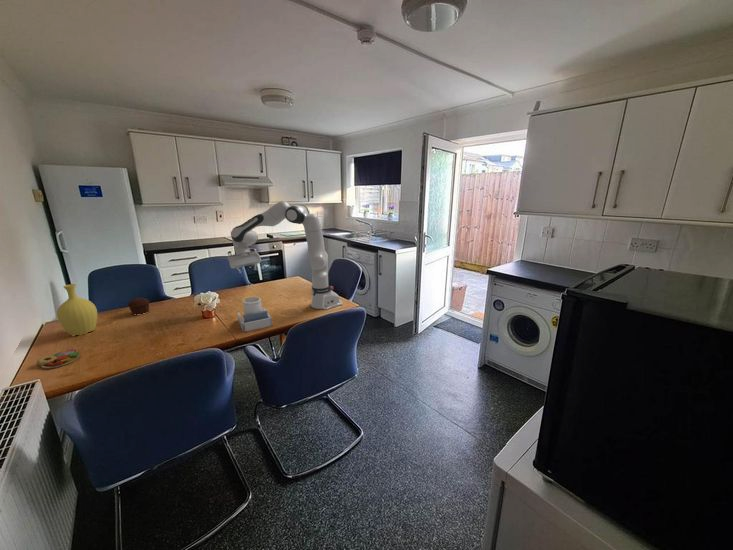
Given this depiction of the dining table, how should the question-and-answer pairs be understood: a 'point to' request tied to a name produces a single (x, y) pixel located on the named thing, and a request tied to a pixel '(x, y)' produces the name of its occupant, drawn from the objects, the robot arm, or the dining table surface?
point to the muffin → (139, 306)
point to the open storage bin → (255, 323)
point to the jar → (252, 305)
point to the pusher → (255, 316)
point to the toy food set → (58, 359)
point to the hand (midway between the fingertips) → (248, 271)
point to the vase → (77, 313)
